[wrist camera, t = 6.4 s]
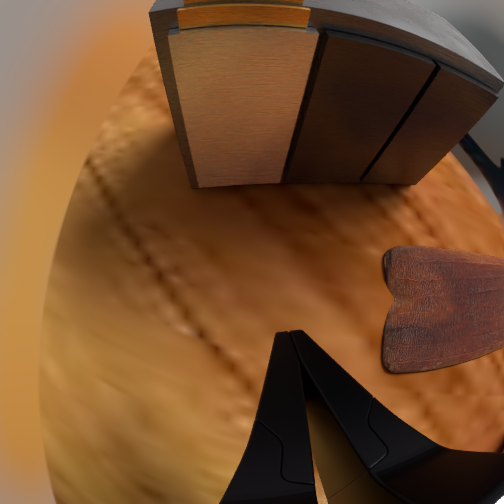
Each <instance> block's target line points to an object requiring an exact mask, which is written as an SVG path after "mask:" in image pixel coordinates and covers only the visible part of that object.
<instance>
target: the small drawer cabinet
mask: <svg viewBox="0 0 504 504" xmlns="http://www.w3.org/2000/svg"><path fill="white" fill-rule="evenodd" d="M149 17H150V22H151V27H152V32H153V37H154V42H155V46H156V51H157V56H158V60H159V64H160V69H161V73H162V77H163V82H164V86H165V90H166V94H167V98H168V102H169V106H170V110H171V114H172V118H173V122H174V126H175V130H176V134H177V137H178V141H179V145H180V149H181V152H182V156H183V160H184V163H185V167H186V170H187V174H188V177H189V181H190V184H191V188H192V189H194V188H199V185H198V181H197V177H196V172H195V168H194V164H193V159H192V155H191V151H190V146H189V142H188V137H187V132H186V128H185V123H184V118H183V114H182V109H181V104H180V99H179V94H178V89H177V84H176V79H175V74H174V68H173V63H172V57H171V52H170V46H169V41H168V33H169V30H171V29H177V28H179V29H185V28H193V27H203V26H216V25H245V24H252V25H280V26H293V27H303V28H307V27H312V28H315V29H316V30H317V32H318V33H319V37H318V40H317V44H316V48H315V52H314V56H313V60H312V63H311V67H310V71H309V75H308V79H307V82H306V86H305V90H304V94H303V97H302V101H301V105H300V109H299V112H298V116H297V120H296V124H295V127H294V131H293V135H292V138H291V142H290V146H289V150H288V153H287V157H286V161H285V164H284V168H283V172H282V175H281V179H280V183H314V182H342V183H383V184H404V185H416V184H417V183H418V182H419V181H420V180H421V179H422V178H423V177H424V176H425V175H426V174H427V173H428V172H429V171H430V170H431V169H432V168H433V167H434V166H435V165H436V164H437V163H438V162H439V161H440V160H441V159H442V158H443V157H444V156H445V155H446V154H447V153H448V152H449V151H450V150H451V149H452V148H453V147H454V146H455V145H456V144H457V143H458V142H459V141H460V140H461V139H462V138H463V137H464V136H465V135H466V134H467V133H468V132H469V130H470V129H471V128H472V127H473V126H474V125H475V124H476V123H477V122H478V121H479V120H480V118H481V117H482V116H483V115H484V114H485V113H486V112H487V111H488V110H489V108H490V107H491V106H492V105H493V104H494V103H495V102H496V100H497V99H498V98H499V97H498V96H497V94H498V93H499V91H500V90H501V89H502V88H503V86H504V81H503V79H502V78H501V77H500V76H499V74H498V73H497V72H496V71H495V69H494V68H493V67H492V66H491V65H490V64H489V62H488V61H487V60H486V59H485V58H484V57H483V56H482V55H481V53H479V51H478V50H477V49H476V48H475V47H474V46H473V45H472V44H471V43H470V42H469V41H468V40H467V39H466V38H465V37H464V36H463V35H462V34H461V33H460V32H459V31H458V30H456V29H455V28H454V27H453V26H452V25H451V24H450V23H449V22H448V21H446V20H445V19H444V18H443V17H441V16H439V15H437V14H435V13H433V12H431V11H429V10H427V9H425V8H423V7H421V6H418V5H416V4H414V3H411V2H409V1H407V0H156V1H155V3H154V4H153V6H152V8H151V9H150V11H149ZM264 184H272V183H264ZM244 185H250V184H244ZM228 186H233V185H228ZM214 187H218V186H214ZM201 188H205V187H201Z"/></svg>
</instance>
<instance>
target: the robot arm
mask: <svg viewBox="0 0 504 504" xmlns="http://www.w3.org/2000/svg"><path fill="white" fill-rule="evenodd" d="M311 450H312V451H311ZM312 453H313V456H314V460H315V463H316V466H317V469H318V473H319V476H320V479H321V482H322V485H323V489H324V492H325V495H326V498H327V502H328V504H504V453H491V452H474V451H462V450H454V449H449V448H446V447H443V446H441V445H439V444H437V443H435V442H434V441H432V440H430V439H429V438H427V437H426V436H424V435H423V434H421V433H420V432H418V431H417V430H415V429H414V428H412V427H411V426H410V425H408V424H407V423H405V422H404V421H403V420H401V419H400V418H398V417H397V416H396V415H394V414H393V413H392V412H391V411H390V410H388V409H387V408H386V407H385V406H384V405H383V404H381V403H380V402H379V401H378V400H377V399H376V398H375V397H373V396H372V395H371V394H370V393H369V392H368V391H367V390H366V389H365V388H364V387H363V386H362V385H360V384H359V383H358V382H357V381H356V380H355V379H354V378H353V377H352V376H351V375H350V374H349V373H347V372H346V371H345V370H344V369H343V368H342V367H341V366H340V365H339V364H338V363H337V362H336V361H335V360H334V359H332V358H331V357H330V356H329V355H328V354H327V353H326V352H325V351H324V350H323V349H322V348H321V347H320V346H319V345H318V344H317V343H316V342H314V341H313V340H312V339H311V338H310V337H309V336H308V335H307V334H306V333H305V332H304V331H303V330H292V331H290V332H288V331H284V332H277V333H276V334H275V337H274V342H273V346H272V351H271V355H270V359H269V364H268V368H267V372H266V376H265V381H264V385H263V389H262V393H261V397H260V401H259V405H258V409H257V413H256V417H255V421H254V424H253V428H252V431H251V435H250V438H249V441H248V444H247V447H246V449H245V452H244V454H243V457H242V459H241V461H240V463H239V466H238V468H237V470H236V472H235V474H234V476H233V478H232V480H231V482H230V484H229V486H228V488H227V490H226V492H225V494H224V496H223V497H222V499H221V501H220V503H219V504H318V501H317V496H316V488H315V478H314V469H313V460H312Z"/></svg>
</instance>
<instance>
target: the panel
mask: <svg viewBox="0 0 504 504" xmlns="http://www.w3.org/2000/svg"><path fill="white" fill-rule="evenodd" d="M318 37H319V33H318V32H317V30H316V29H315V28H312V27H307V28H303V27H293V26H280V25H252V24H245V25H216V26H203V27H193V28H185V29H179V28H177V29H171V30H169V33H168V41H169V46H170V52H171V57H172V63H173V68H174V74H175V79H176V84H177V89H178V94H179V99H180V104H181V109H182V114H183V118H184V123H185V128H186V132H187V137H188V142H189V146H190V151H191V155H192V159H193V164H194V168H195V172H196V177H197V181H198V185H199V188H201V187H214V186H228V185H244V184H264V183H280V179H281V175H282V172H283V168H284V164H285V161H286V157H287V153H288V150H289V146H290V142H291V138H292V135H293V131H294V127H295V124H296V120H297V116H298V112H299V109H300V105H301V101H302V97H303V94H304V90H305V86H306V82H307V79H308V75H309V71H310V67H311V63H312V60H313V56H314V52H315V48H316V44H317V40H318Z"/></svg>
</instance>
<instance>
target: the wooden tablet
mask: <svg viewBox="0 0 504 504" xmlns="http://www.w3.org/2000/svg"><path fill="white" fill-rule="evenodd" d="M384 264H385V273H386V280H387V286H388V288H389V290H390V292H391V294H392V295H393V297H394V303H393V304H392V306H391V308H390V310H389V312H388V314H387V318H386V321H385V326H384V334H383V346H382V360H383V363H384V365H385V366H386V368H387V369H388V370H389V371H391V372H394V373H402V372H419V371H427V370H432V369H438V368H443V367H447V366H451V365H455V364H459V363H461V362H466V361H469V360H472V359H475V358H478V357H481V356H483V355H486V354H488V353H490V352H493V351H495V350H498V349H500V348H502V347H504V258H500V257H494V256H489V255H484V254H479V253H472V252H467V251H459V250H452V249H440V248H433V247H425V246H398V247H394V248H391V249H390V250H388V251H387V253H386V254H385V256H384Z"/></svg>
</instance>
